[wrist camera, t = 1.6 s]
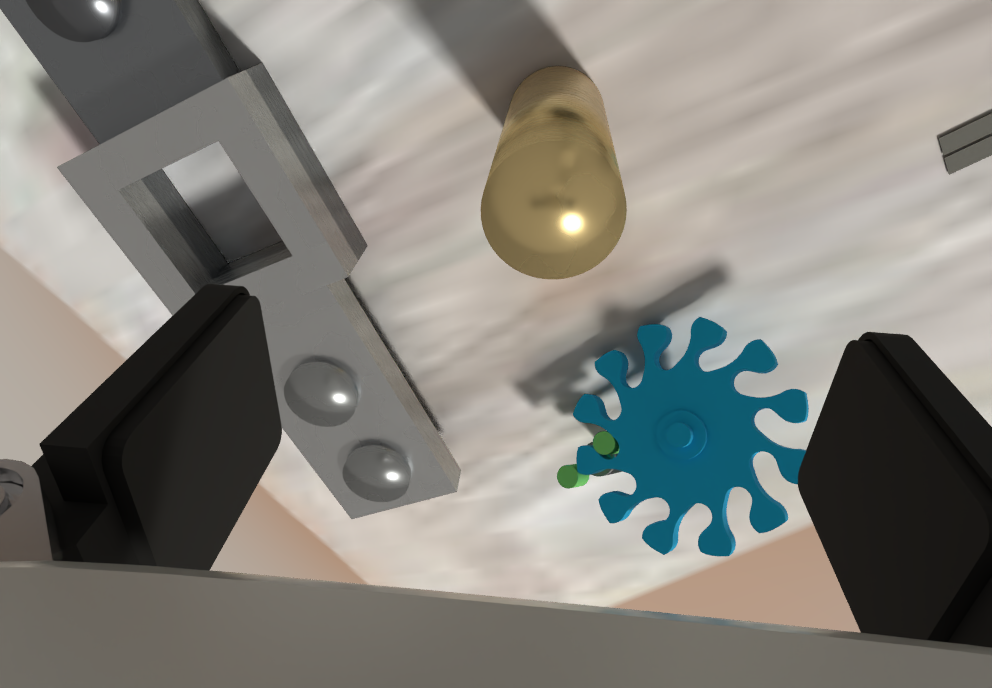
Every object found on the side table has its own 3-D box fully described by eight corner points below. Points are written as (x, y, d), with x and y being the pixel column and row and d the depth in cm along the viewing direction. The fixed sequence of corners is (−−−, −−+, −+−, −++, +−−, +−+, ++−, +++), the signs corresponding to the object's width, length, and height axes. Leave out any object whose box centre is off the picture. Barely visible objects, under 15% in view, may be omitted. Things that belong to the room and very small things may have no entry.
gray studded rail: (-147, -199, 21) (-262, -220, 18) (26, -347, 19) (-73, -399, 16) (351, 481, 36) (332, 531, 33) (482, 445, 34) (474, 494, 31)
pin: (511, 63, 24) (482, 136, 15) (610, 68, 23) (637, 146, 15) (506, 161, 26) (479, 274, 17) (598, 167, 25) (615, 284, 17)
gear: (763, 279, 26) (854, 537, 23) (782, 304, 31) (858, 518, 28) (523, 363, 31) (576, 583, 28) (574, 373, 36) (622, 560, 33)
